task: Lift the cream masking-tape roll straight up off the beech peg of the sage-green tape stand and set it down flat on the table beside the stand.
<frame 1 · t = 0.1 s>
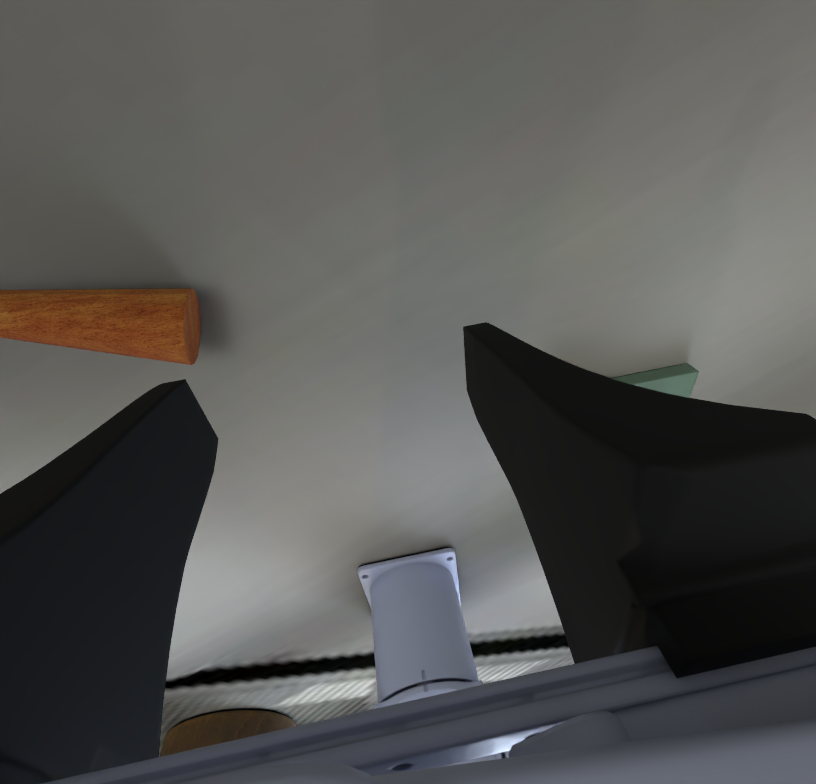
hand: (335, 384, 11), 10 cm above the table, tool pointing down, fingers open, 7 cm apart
tape stand: (599, 436, 28), on the table
wooden container: (234, 730, 49), on the table
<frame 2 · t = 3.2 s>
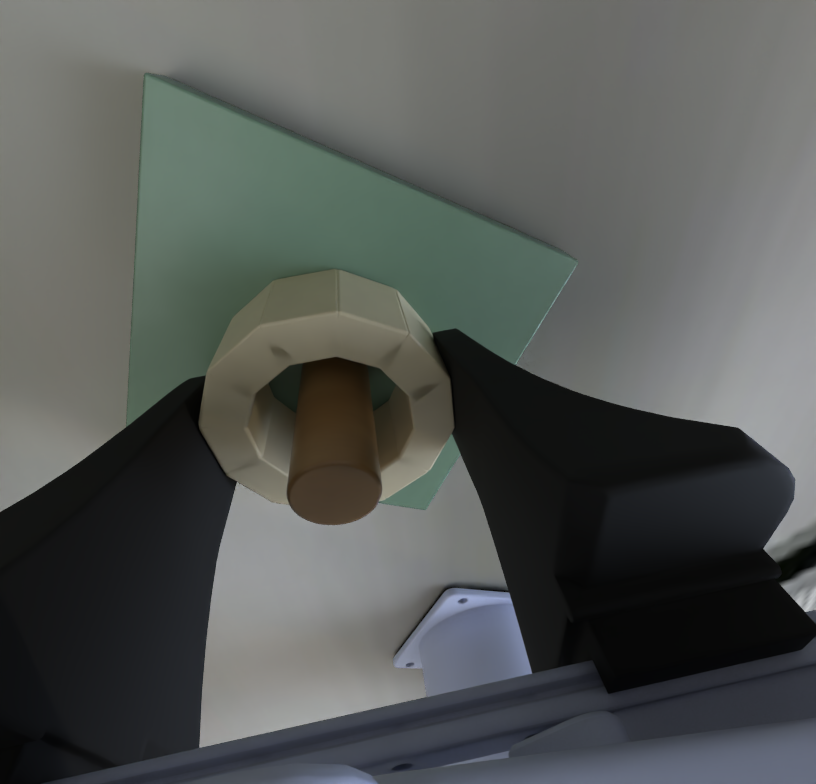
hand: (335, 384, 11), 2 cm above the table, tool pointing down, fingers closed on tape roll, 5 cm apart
tape stand: (335, 352, 12), on the table
tape roll: (334, 370, 11), point 1 cm above the table, touching gripper, tape stand
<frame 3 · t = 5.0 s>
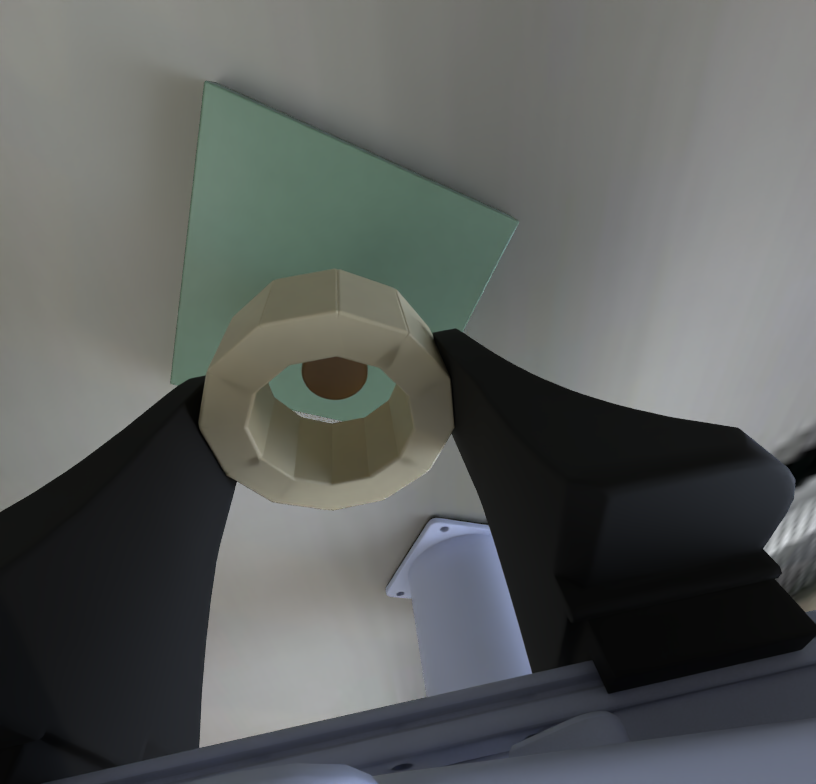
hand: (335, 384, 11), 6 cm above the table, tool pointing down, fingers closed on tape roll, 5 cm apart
tape stand: (335, 296, 16), on the table
tape roll: (333, 370, 11), point 5 cm above the table, touching gripper
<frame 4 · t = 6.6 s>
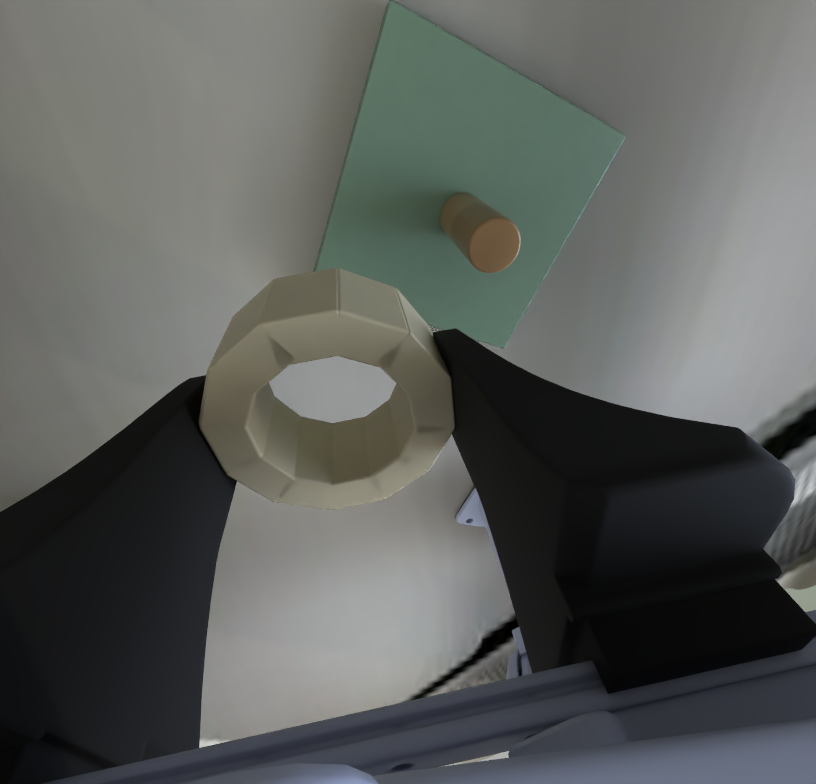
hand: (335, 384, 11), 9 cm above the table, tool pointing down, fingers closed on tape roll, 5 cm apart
tape stand: (455, 210, 18), on the table
tape roll: (334, 370, 11), point 9 cm above the table, touching gripper
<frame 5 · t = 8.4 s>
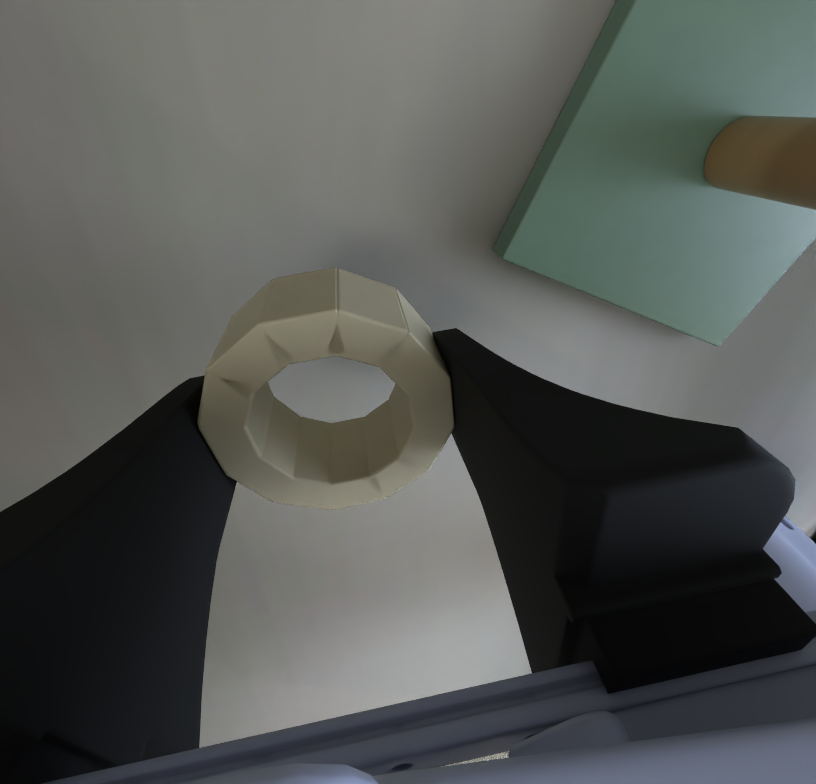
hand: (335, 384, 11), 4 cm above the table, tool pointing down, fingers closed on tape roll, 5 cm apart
tape stand: (707, 150, 12), on the table
tape roll: (333, 369, 11), point 3 cm above the table, touching gripper
when the fingers open (1 cm above the table, at t = 9.9 s): tape roll stays where it is, on the table.
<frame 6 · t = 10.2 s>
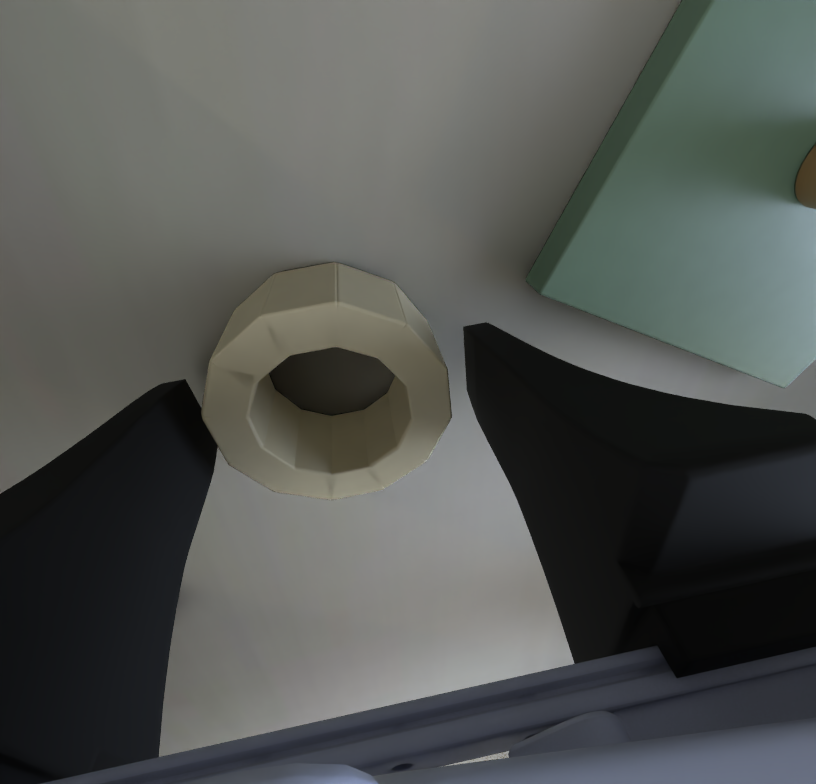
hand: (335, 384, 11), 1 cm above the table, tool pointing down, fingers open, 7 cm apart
tape stand: (793, 159, 10), on the table
tape roll: (333, 363, 12), on the table
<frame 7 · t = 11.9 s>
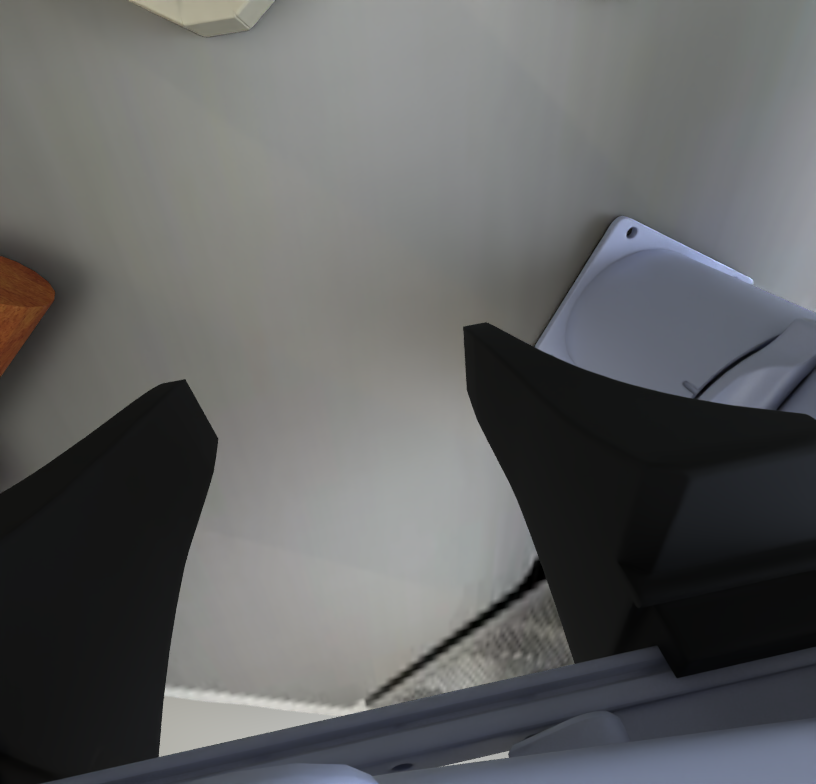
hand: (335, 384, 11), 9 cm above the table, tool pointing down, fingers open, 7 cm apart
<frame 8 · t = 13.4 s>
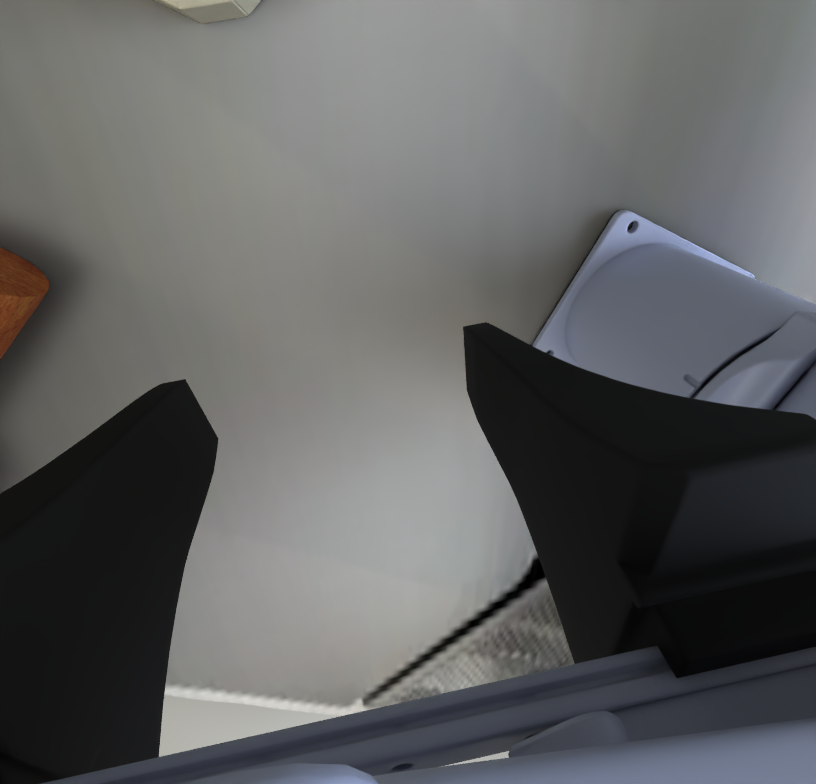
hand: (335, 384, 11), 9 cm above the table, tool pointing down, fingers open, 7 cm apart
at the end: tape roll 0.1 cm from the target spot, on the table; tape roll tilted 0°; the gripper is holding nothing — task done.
